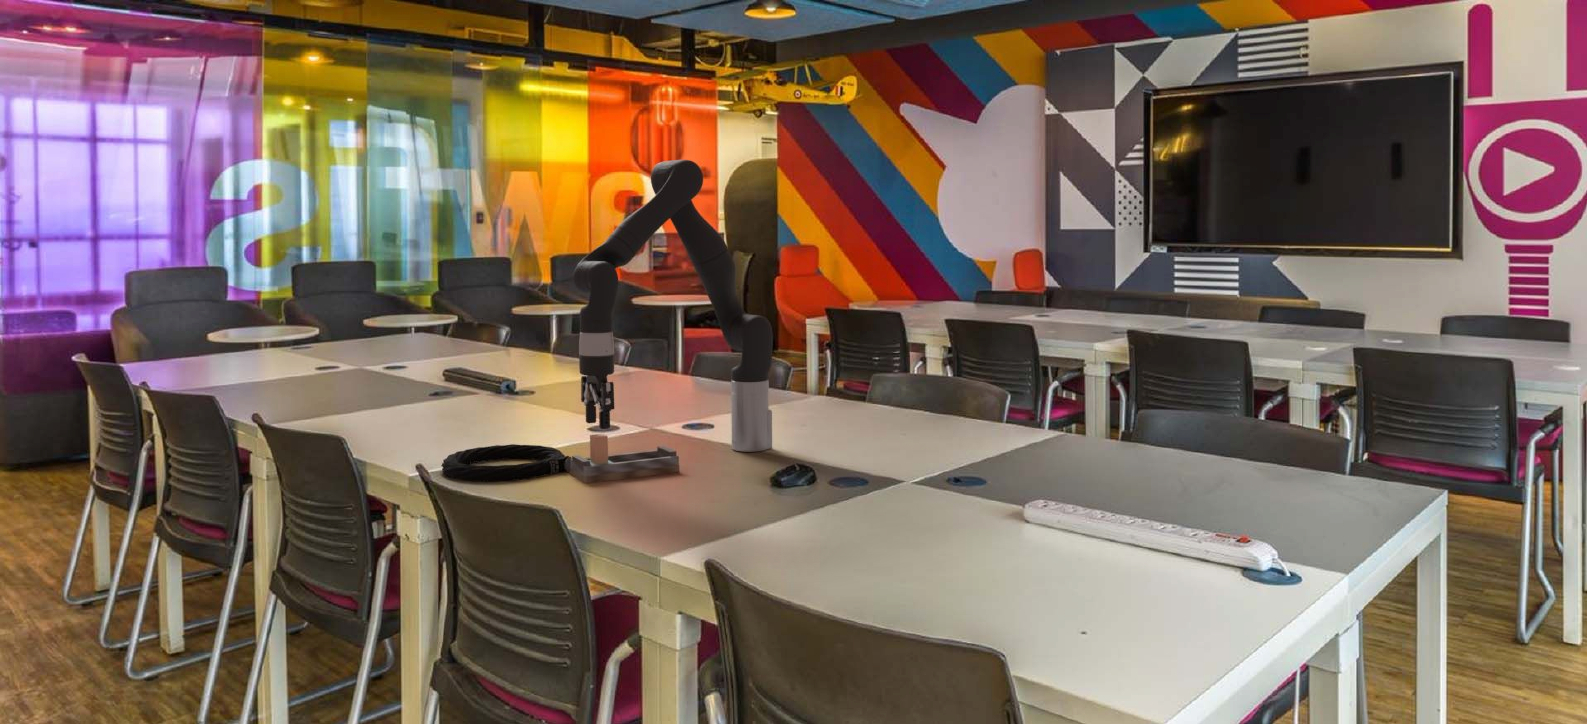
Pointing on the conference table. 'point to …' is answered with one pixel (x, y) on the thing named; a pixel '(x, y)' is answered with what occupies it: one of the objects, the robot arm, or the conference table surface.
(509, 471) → the cable lock
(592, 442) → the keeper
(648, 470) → the board
